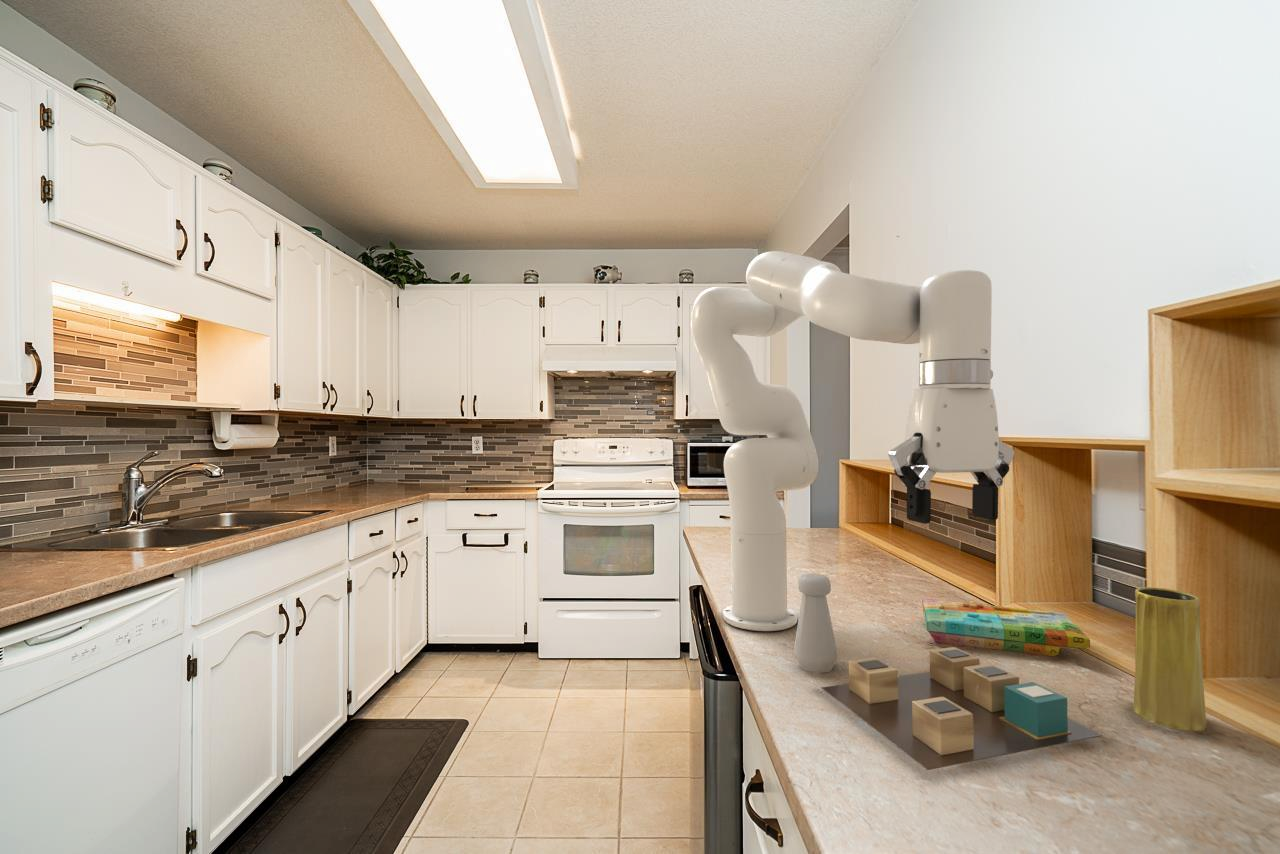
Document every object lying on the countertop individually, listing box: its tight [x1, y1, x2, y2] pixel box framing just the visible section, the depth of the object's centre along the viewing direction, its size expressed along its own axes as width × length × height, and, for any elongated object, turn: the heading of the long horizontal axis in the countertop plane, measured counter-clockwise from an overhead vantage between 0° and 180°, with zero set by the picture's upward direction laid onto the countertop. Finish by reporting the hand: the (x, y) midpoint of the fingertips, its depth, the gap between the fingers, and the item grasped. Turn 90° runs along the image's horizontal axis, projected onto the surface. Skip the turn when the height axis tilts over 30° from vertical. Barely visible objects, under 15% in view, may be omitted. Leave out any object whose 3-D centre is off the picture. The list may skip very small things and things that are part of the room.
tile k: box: [912, 697, 974, 755], centre depth 59 cm, size 4×4×4 cm
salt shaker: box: [793, 572, 839, 674], centre depth 78 cm, size 6×6×13 cm
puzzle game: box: [921, 598, 1091, 657], centre depth 87 cm, size 12×5×20 cm
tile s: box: [1004, 681, 1069, 737], centre depth 61 cm, size 4×4×4 cm
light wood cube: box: [848, 656, 899, 704], centre depth 69 cm, size 4×4×4 cm
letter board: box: [820, 671, 1103, 771], centre depth 65 cm, size 18×22×1 cm
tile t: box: [963, 662, 1020, 712], centre depth 67 cm, size 4×4×4 cm
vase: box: [1132, 586, 1208, 732], centre depth 63 cm, size 6×6×14 cm
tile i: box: [928, 646, 981, 691], centre depth 72 cm, size 4×4×4 cm
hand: (952, 519), depth 68 cm, fingers open, 9 cm apart
